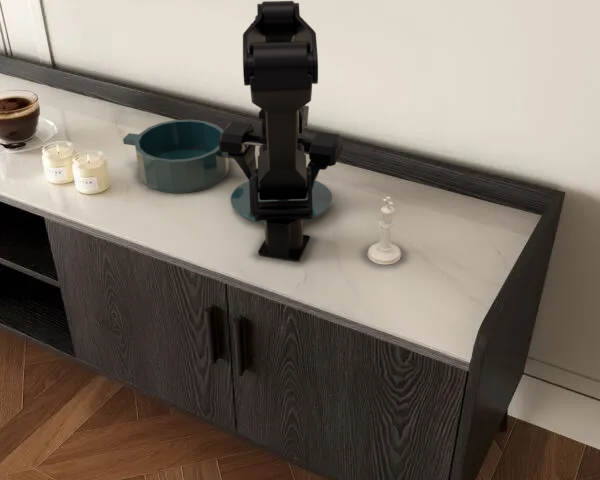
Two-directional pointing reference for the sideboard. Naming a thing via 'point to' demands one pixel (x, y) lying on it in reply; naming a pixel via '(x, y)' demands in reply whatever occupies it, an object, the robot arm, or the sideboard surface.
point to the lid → (319, 200)
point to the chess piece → (385, 239)
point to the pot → (180, 156)
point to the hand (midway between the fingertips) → (282, 190)
